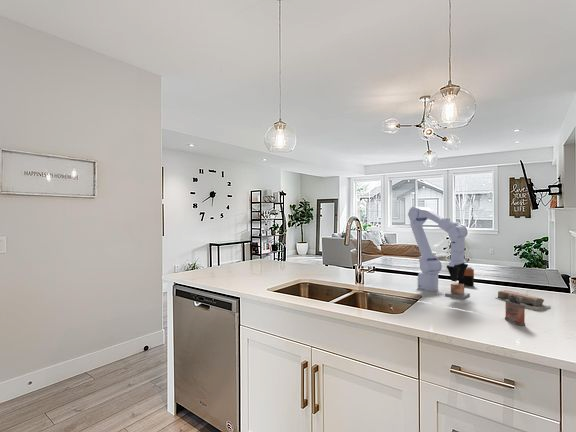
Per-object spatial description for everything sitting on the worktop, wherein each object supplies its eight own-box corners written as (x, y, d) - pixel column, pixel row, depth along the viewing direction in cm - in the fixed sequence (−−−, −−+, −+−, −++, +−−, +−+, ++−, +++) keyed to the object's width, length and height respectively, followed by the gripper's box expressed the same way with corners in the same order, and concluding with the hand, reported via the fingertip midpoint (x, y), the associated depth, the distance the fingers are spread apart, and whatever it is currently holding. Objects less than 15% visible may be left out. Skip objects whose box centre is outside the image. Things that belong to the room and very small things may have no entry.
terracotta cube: (450, 293, 157) (450, 284, 157) (454, 291, 160) (454, 282, 160) (460, 294, 154) (460, 285, 154) (464, 293, 157) (464, 283, 157)
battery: (472, 286, 179) (472, 268, 179) (458, 285, 184) (458, 267, 183) (473, 285, 183) (474, 267, 182) (460, 283, 187) (460, 266, 187)
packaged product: (494, 290, 153) (508, 288, 156) (494, 301, 153) (508, 299, 157) (536, 300, 136) (551, 297, 140) (536, 312, 136) (551, 309, 140)
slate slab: (445, 296, 157) (445, 293, 157) (452, 293, 163) (452, 290, 163) (463, 299, 151) (463, 296, 151) (469, 296, 157) (469, 293, 157)
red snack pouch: (502, 318, 126) (502, 292, 126) (510, 318, 126) (511, 292, 126) (518, 326, 118) (519, 298, 118) (527, 326, 118) (528, 298, 118)
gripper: (460, 253, 149) (460, 283, 149) (472, 250, 159) (472, 279, 159) (444, 252, 154) (444, 281, 154) (456, 249, 164) (456, 277, 164)
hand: (457, 280), depth 157 cm, fingers open, 7 cm apart
